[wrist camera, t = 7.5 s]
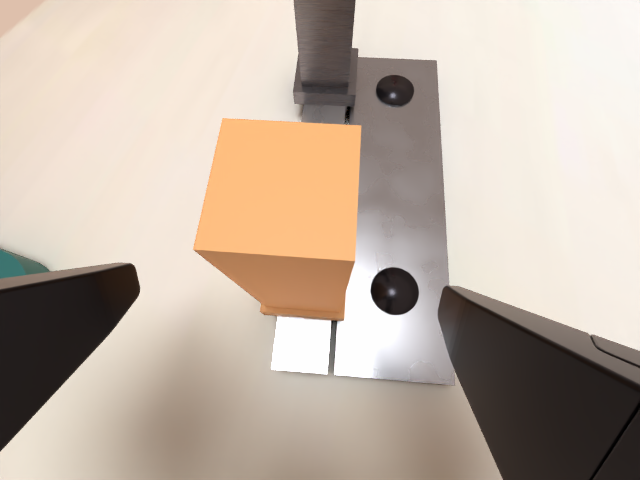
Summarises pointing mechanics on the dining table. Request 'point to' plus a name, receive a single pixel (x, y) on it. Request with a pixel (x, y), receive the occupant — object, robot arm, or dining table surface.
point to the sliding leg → (284, 213)
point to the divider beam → (328, 108)
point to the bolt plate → (397, 229)
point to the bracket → (18, 265)
